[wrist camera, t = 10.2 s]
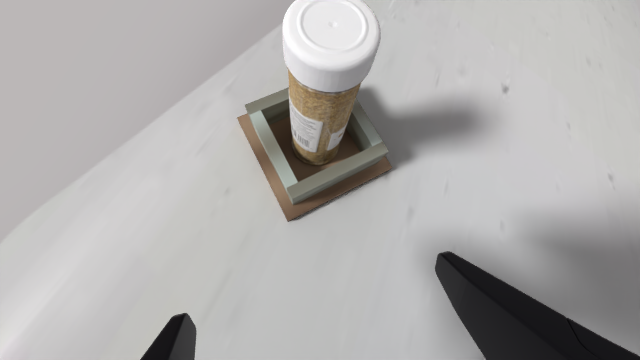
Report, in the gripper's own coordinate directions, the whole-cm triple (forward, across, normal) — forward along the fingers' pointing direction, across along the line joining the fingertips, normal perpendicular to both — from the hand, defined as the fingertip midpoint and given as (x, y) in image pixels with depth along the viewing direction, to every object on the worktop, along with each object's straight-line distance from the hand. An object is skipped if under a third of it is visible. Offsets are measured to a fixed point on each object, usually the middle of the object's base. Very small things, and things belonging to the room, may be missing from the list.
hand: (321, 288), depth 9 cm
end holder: (+17, -3, +2) cm, 18 cm away
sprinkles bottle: (+17, -3, +2) cm, 17 cm away
